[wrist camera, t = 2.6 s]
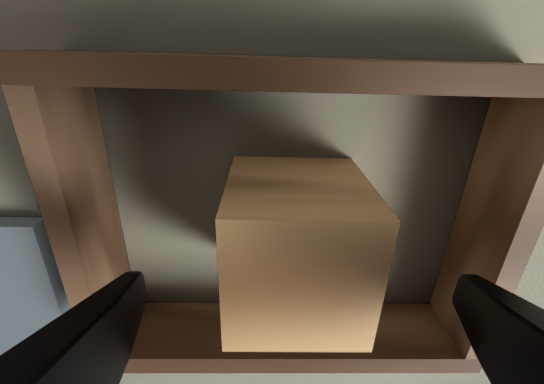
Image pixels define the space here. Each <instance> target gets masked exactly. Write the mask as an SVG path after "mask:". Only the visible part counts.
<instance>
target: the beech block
mask: <svg viewBox="0 0 544 384" xmlns="http://www.w3.org/2000/svg"><path fill="white" fill-rule="evenodd" d="M400 225H401V222H400V221H399V219H398V218H397V217H396V215H395V214H394V213H393V212H392V210H391V209H390V208H389V206H388V205H387V204H386V203H385V201H384V200H383V199H382V197H381V196H380V195H379V194H378V192H377V191H376V190H375V188H374V187H373V186H372V185H371V183H370V182H369V181H368V179H367V178H366V177H365V176H364V174H363V173H362V172H361V170H360V169H359V168H358V167H357V165H356V164H355V163H354V161H353V160H352V159H351V158H310V157H260V156H234V158H233V161H232V165H231V168H230V172H229V175H228V178H227V182H226V185H225V188H224V192H223V195H222V198H221V202H220V205H219V208H218V212H217V215H216V218H215V226H216V245H217V264H218V282H219V301H220V320H221V338H222V352H372V350H373V345H374V341H375V336H376V332H377V327H378V323H379V318H380V314H381V309H382V305H383V301H384V296H385V292H386V287H387V283H388V278H389V274H390V269H391V265H392V260H393V256H394V252H395V247H396V243H397V238H398V234H399V229H400Z"/></svg>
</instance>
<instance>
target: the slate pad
mask: <svg viewBox="0 0 544 384" xmlns="http://www.w3.org/2000/svg"><path fill="white" fill-rule="evenodd" d="M69 309H70V305H69V302H68V299H67V296H66V292H65V289H64V286H63V283H62V280H61V276H60V273H59V270H58V267H57V264H56V260H55V257H54V254H53V251H52V247H51V244H50V241H49V238H48V235H47V231H46V228H45V225H44V222H43V219H42V217H0V355H1V354H3V353H4V352H6V351H7V350H9V349H10V348H12V347H13V346H15V345H16V344H18V343H19V342H21V341H22V340H24V339H25V338H27V337H28V336H30V335H31V334H33V333H35V332H36V331H38V330H39V329H41V328H42V327H44V326H45V325H47V324H48V323H50V322H51V321H53V320H54V319H56V318H57V317H59V316H60V315H62V314H63V313H65V312H66V311H68V310H69Z"/></svg>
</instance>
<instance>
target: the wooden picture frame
mask: <svg viewBox="0 0 544 384" xmlns="http://www.w3.org/2000/svg"><path fill="white" fill-rule="evenodd" d="M0 84H1V87H2V90H3V93H4V97H5V100H6V103H7V106H8V109H9V113H10V116H11V119H12V122H13V125H14V129H15V132H16V135H17V138H18V141H19V145H20V148H21V151H22V154H23V158H24V161H25V164H26V167H27V170H28V174H29V177H30V180H31V183H32V186H33V190H34V193H35V196H36V199H37V203H38V206H39V209H40V212H41V215H42V219H43V222H44V225H45V228H46V231H47V235H48V238H49V241H50V244H51V247H52V251H53V254H54V257H55V260H56V264H57V267H58V270H59V273H60V276H61V280H62V283H63V286H64V289H65V292H66V296H67V299H68V302H69V305H70V309H71V308H72V307H74V306H75V305H77V304H78V303H80V302H81V301H83V300H84V299H86V298H87V297H89V296H90V295H92V294H93V293H95V292H96V291H98V290H99V289H101V288H102V287H104V286H105V285H107V284H108V283H110V282H111V281H113V280H114V279H116V278H117V277H119V276H120V275H122V274H123V273H125V272H127V271H130V267H129V262H128V257H127V252H126V246H125V241H124V236H123V231H122V226H121V221H120V216H119V211H118V206H117V201H116V196H115V190H114V185H113V180H112V175H111V170H110V165H109V160H108V155H107V150H106V145H105V140H104V134H103V129H102V124H101V119H100V114H99V109H98V104H97V99H96V94H95V89H94V87H104V88H145V89H186V90H228V91H269V92H310V93H351V94H393V95H434V96H475V97H492V98H491V101H490V105H489V108H488V111H487V115H486V118H485V121H484V125H483V128H482V131H481V135H480V138H479V141H478V145H477V148H476V151H475V155H474V158H473V161H472V165H471V168H470V171H469V175H468V178H467V181H466V185H465V188H464V191H463V194H462V198H461V201H460V204H459V208H458V211H457V214H456V218H455V221H454V224H453V228H452V231H451V234H450V238H449V241H448V244H447V248H446V251H445V254H444V258H443V261H442V264H441V268H440V271H439V274H438V278H437V281H436V284H435V288H434V291H433V294H432V298H431V301H430V304H386V303H383V305H382V309H381V314H380V318H379V323H378V327H377V332H376V336H375V341H374V345H373V350H372V352H222V338H221V320H220V303H210V302H146V305H145V309H144V312H143V315H142V319H141V322H140V326H139V329H138V332H137V336H136V339H135V343H134V346H133V349H132V352H131V356H130V358H129V361H128V363H127V366H126V368H125V371H124V373H480V370H481V368H482V366H481V365H480V363H479V361H478V359H477V357H476V355H475V353H474V351H473V349H472V347H471V344H470V342H469V340H468V337H467V335H466V333H465V331H464V328H463V326H462V324H461V322H460V319H459V317H458V315H457V313H456V310H455V308H454V306H453V302H452V295H453V292H454V289H455V286H456V283H457V280H458V277H459V276H460V275H462V274H476V275H479V276H481V277H483V278H485V279H487V280H488V281H490V282H492V283H494V284H496V285H498V286H500V287H502V288H504V289H506V290H508V291H509V292H511V293H513V294H514V292H515V290H516V288H517V285H518V283H519V281H520V279H521V276H522V274H523V272H524V269H525V267H526V265H527V262H528V260H529V258H530V256H531V253H532V251H533V249H534V246H535V244H536V242H537V240H538V237H539V235H540V233H541V230H542V228H543V226H544V64H539V63H514V62H478V61H441V60H404V59H368V58H331V57H295V56H258V55H222V54H185V53H149V52H112V51H75V50H0Z"/></svg>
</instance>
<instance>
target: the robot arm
mask: <svg viewBox="0 0 544 384" xmlns="http://www.w3.org/2000/svg"><path fill="white" fill-rule="evenodd" d="M146 301H147V292H146V287H145V281H144V276H143V273H142V272H140V271H127V272H125V273H123V274H122V275H120V276H119V277H117V278H116V279H114V280H113V281H111V282H110V283H108V284H107V285H105V286H104V287H102V288H101V289H99V290H98V291H96V292H95V293H93V294H92V295H90V296H89V297H87V298H86V299H84V300H83V301H81V302H80V303H78V304H77V305H75V306H74V307H72V308H71V309H69V310H68V311H66V312H65V313H63V314H62V315H60V316H59V317H57V318H56V319H54V320H53V321H51V322H50V323H48V324H47V325H45V326H44V327H42V328H41V329H39V330H38V331H36V332H35V333H33V334H31V335H30V336H28V337H27V338H25V339H24V340H22V341H21V342H19V343H18V344H16V345H15V346H13V347H12V348H10V349H9V350H7V351H6V352H4V353H3V354H1V355H0V384H119V383H120V380H121V378H122V376H123V373H124V371H125V368H126V366H127V363H128V361H129V358H130V356H131V352H132V349H133V346H134V343H135V339H136V336H137V332H138V329H139V326H140V322H141V319H142V315H143V312H144V309H145V305H146ZM452 302H453V306H454V308H455V310H456V313H457V315H458V317H459V319H460V322H461V324H462V326H463V328H464V331H465V333H466V335H467V337H468V340H469V342H470V344H471V347H472V349H473V351H474V353H475V355H476V357H477V359H478V361H479V363H480V365H481V366H482V368H483V370H484V372H485V374H486V375H487V377H488V379H489V381H490V382H491V384H544V309H542V308H540V307H538V306H536V305H534V304H532V303H530V302H528V301H527V300H525V299H523V298H521V297H519V296H517V295H515V294H513V293H511V292H509V291H508V290H506V289H504V288H502V287H500V286H498V285H496V284H494V283H492V282H490V281H488V280H487V279H485V278H483V277H481V276H479V275H476V274H462V275H460V276H459V277H458V280H457V283H456V286H455V289H454V292H453V295H452Z"/></svg>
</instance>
